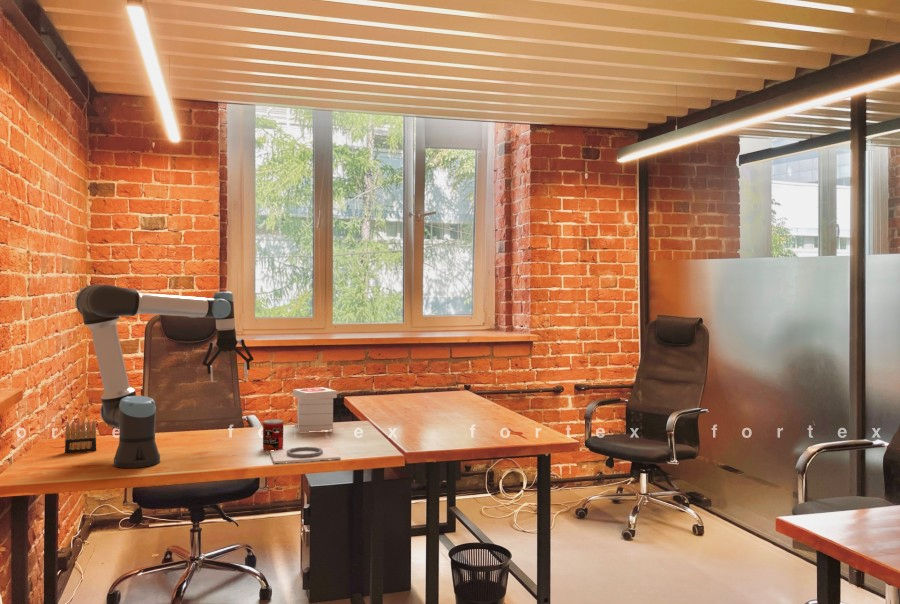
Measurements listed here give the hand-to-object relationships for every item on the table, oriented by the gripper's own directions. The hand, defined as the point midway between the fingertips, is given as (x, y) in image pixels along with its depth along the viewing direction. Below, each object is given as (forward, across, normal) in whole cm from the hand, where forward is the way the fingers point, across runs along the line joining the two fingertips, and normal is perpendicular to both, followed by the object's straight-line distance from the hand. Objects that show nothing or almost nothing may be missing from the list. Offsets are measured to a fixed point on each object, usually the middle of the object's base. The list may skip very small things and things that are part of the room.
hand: (229, 379), depth 285 cm
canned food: (+26, -13, +22) cm, 36 cm away
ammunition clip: (+21, +56, +2) cm, 60 cm away
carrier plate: (+26, -22, +40) cm, 52 cm away
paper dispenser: (+29, -37, -18) cm, 50 cm away
